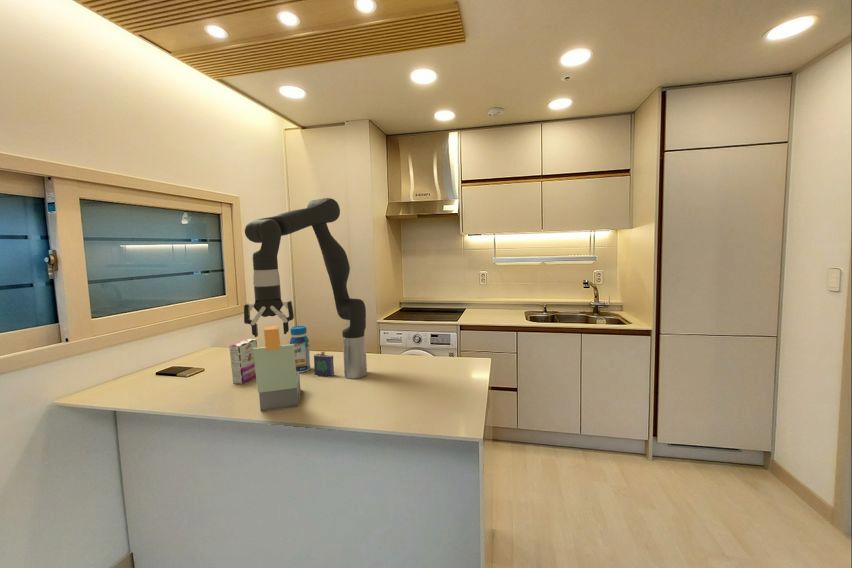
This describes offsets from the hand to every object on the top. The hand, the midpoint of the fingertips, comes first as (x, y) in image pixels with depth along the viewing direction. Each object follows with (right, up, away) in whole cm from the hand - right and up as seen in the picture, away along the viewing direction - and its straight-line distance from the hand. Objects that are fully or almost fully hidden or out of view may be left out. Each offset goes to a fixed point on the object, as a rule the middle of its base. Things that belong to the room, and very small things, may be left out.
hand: (270, 335), depth 114 cm
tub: (-3, -26, +17) cm, 31 cm away
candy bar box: (-28, -25, +40) cm, 55 cm away
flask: (+5, -24, +42) cm, 48 cm away
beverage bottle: (-8, -23, +50) cm, 55 cm away
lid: (-1, -8, +6) cm, 11 cm away
